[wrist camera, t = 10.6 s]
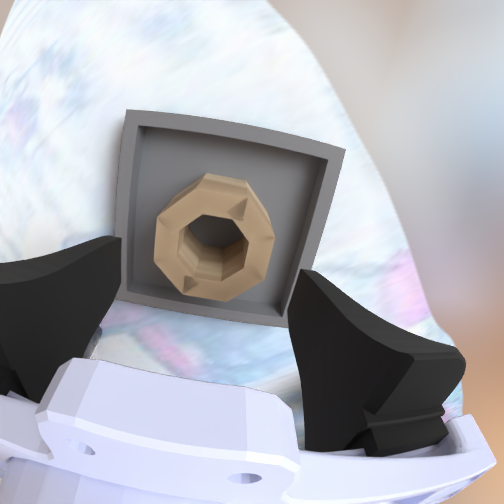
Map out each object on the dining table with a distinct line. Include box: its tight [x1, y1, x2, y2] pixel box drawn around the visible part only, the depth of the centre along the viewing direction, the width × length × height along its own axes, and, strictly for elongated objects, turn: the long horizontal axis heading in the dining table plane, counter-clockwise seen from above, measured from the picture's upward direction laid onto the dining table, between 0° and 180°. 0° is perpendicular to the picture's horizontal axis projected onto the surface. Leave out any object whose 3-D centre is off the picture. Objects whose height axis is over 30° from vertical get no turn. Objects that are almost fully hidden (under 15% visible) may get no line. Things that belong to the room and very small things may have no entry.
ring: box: [154, 173, 275, 302], centre depth 15 cm, size 5×5×4 cm
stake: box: [83, 326, 102, 359], centre depth 18 cm, size 2×2×6 cm
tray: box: [115, 109, 346, 328], centre depth 17 cm, size 12×12×2 cm
